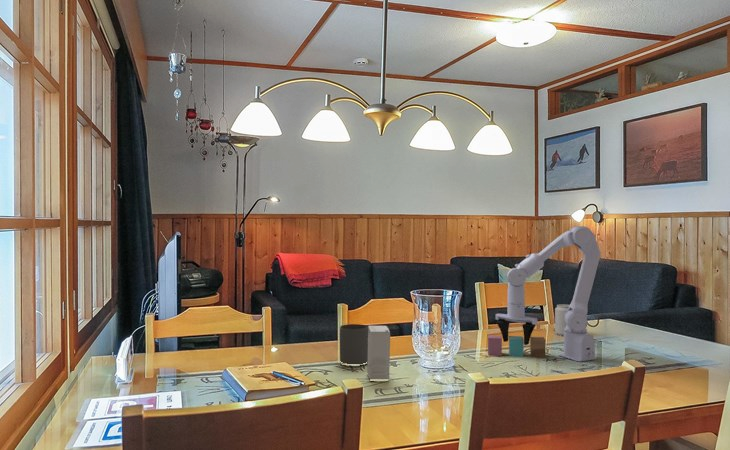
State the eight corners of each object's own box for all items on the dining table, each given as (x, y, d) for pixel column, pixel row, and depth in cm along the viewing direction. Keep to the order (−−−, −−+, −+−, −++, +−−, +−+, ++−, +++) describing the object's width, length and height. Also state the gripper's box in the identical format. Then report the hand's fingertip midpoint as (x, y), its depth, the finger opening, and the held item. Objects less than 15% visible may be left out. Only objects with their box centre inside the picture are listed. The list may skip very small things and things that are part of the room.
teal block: (523, 356, 190) (523, 339, 190) (509, 356, 191) (509, 338, 190) (522, 353, 194) (522, 336, 194) (509, 353, 195) (508, 336, 195)
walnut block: (545, 357, 188) (545, 339, 188) (531, 357, 189) (531, 339, 189) (543, 354, 193) (543, 337, 193) (530, 354, 194) (530, 336, 194)
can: (571, 333, 230) (571, 303, 230) (577, 336, 222) (577, 306, 222) (553, 332, 230) (553, 303, 230) (557, 336, 223) (557, 306, 223)
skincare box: (366, 374, 168) (366, 325, 168) (386, 374, 168) (386, 324, 168) (369, 382, 159) (369, 330, 159) (390, 382, 160) (390, 330, 160)
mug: (370, 366, 177) (370, 328, 177) (342, 368, 176) (342, 329, 176) (362, 356, 191) (362, 321, 191) (335, 357, 189) (335, 322, 189)
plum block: (501, 355, 191) (501, 338, 191) (488, 355, 192) (488, 337, 192) (501, 352, 195) (501, 335, 195) (487, 352, 196) (487, 335, 196)
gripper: (541, 304, 190) (541, 344, 190) (502, 300, 200) (502, 338, 200) (532, 306, 185) (532, 347, 185) (492, 302, 195) (492, 341, 195)
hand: (515, 342), depth 192 cm, fingers open, 7 cm apart
